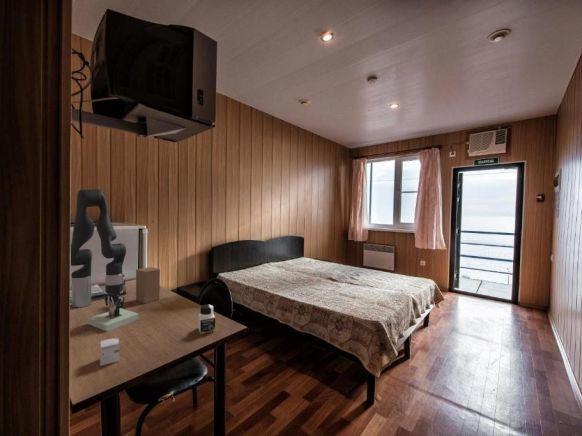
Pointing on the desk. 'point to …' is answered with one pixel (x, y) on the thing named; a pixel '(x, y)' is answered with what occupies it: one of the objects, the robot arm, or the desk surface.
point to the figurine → (124, 286)
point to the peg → (111, 310)
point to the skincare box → (109, 351)
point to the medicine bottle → (206, 319)
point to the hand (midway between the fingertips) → (114, 314)
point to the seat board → (113, 320)
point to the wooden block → (147, 284)
